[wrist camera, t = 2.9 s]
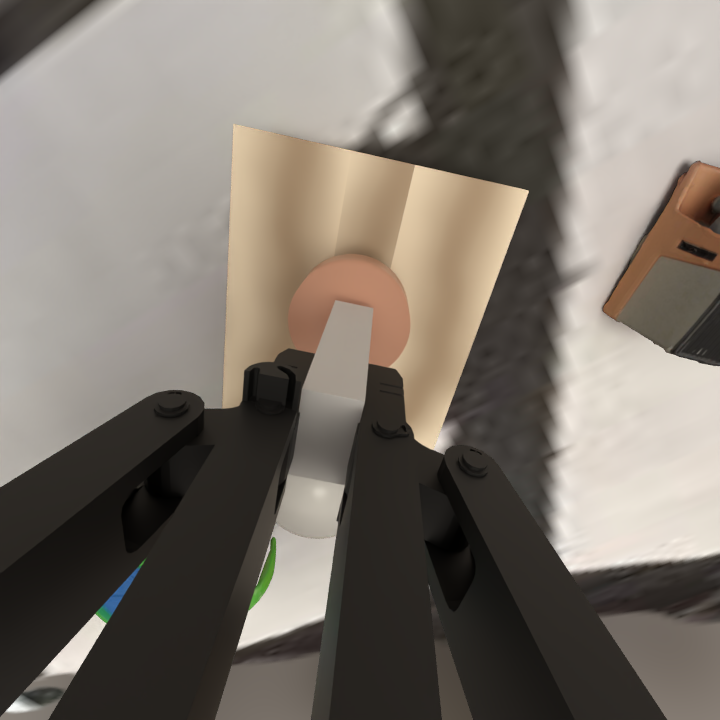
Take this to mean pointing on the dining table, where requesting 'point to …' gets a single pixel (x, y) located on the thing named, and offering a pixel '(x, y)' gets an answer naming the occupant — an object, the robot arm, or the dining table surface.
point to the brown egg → (357, 286)
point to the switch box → (364, 237)
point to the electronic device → (678, 273)
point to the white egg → (310, 507)
